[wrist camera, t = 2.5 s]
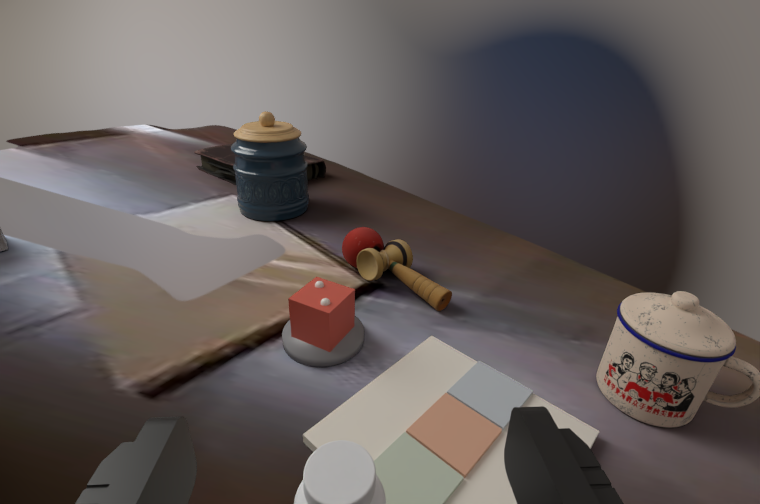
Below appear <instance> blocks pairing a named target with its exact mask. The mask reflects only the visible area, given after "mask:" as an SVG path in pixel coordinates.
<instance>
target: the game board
mask: <svg viewBox="0 0 760 504" xmlns="http://www.w3.org/2000/svg"><path fill="white" fill-rule="evenodd" d="M540 406H544V407H545V408H547V409H548V411H549V412H550V414H551V416H552V418H553V420H554V421H555V423H556V425H557V427H558V429H561V428H570V429H571V430H572V431H573V432H574V433H575V434H576V435H577V436H578V437H579V438H581V439H582V440H583V441H584V442H585V443H586V444H587V445H588V446H589V448H590V449H591V447H592V446H593V444H594V442H595V440H596V438H597V436H598V433H599V431H598V430H596V429H594V428H593V427H591V426H589V425H587V424H586V423H584V422H582V421H580V420H579V419H577V418H575V417H573V416H572V415H570V414H568V413H566V412H565V411H563V410H561V409H559V408H558V407H556V406H554V405H552V404H551V403H549V402H547V401H545V400H544V399H542V398H540V397H538V396H537V395H535V394H533V390H531V389H529V388H527V387H526V386H524V385H522V384H520V383H518V382H517V381H515V380H513V379H511V378H510V377H508V376H506V375H504V374H503V373H501V372H499V371H497V370H496V369H494V368H492V367H490V366H488V365H487V364H485V363H483V362H481V361H480V360H479V361H478V362H477V361H475V360H473V359H472V358H470V357H468V356H466V355H465V354H463V353H461V352H459V351H458V350H456V349H454V348H452V347H451V346H449V345H447V344H445V343H444V342H442V341H440V340H438V339H437V338H435V337H433V336H430V337H429V338H428V339H427V340H425V341H424V342H423V343H421V344H420V345H419V346H417V347H416V348H415V349H414V350H412V351H411V352H410V353H408V354H407V355H406V356H404V357H403V358H402V359H400V360H399V361H398V362H397V363H395V364H394V365H393V366H391V367H390V368H389V369H387V370H386V371H385V372H384V373H382V374H381V375H380V376H378V377H377V378H376V379H374V380H373V381H372V382H371V383H369V384H368V385H367V386H365V387H364V388H363V389H361V390H360V391H359V392H358V393H356V394H355V395H354V396H352V397H351V398H350V399H348V400H347V401H346V402H345V403H343V404H342V405H341V406H339V407H338V408H337V409H335V410H334V411H333V412H332V413H330V414H329V415H328V416H326V417H325V418H324V419H322V420H321V421H320V422H319V423H317V424H316V425H315V426H313V427H312V428H311V429H309V430H308V431H307V432H306V433H304V434H303V443H304V444H306V445H307V446H308V447H309V448H310V449H311V450H312V451H313V452H314V451H315V450H316V449H318V448H319V447H320V446H322V445H324V444H326V443H328V442H332V441H338V440H346V441H351V442H354V443H357V444H359V445H361V446H362V447H363V448H365V449H366V450H367V451H368V452H369V454H370V455H371V457H372V459H373V461H374V464H375V468H376V475H377V476H378V478H379V479H380V481H381V483H382V486H383V488H384V492H385V497H386V504H517V502H516V499H515V496H514V494H513V491H512V488H511V485H510V483H509V480H508V477H507V474H506V469H505V463H504V448H505V443H506V438H507V432H508V427H509V421H510V416H511V411H512V409H513V408H514V407H540Z"/></svg>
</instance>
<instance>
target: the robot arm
mask: <svg viewBox="0 0 760 504" xmlns="http://www.w3.org/2000/svg"><path fill="white" fill-rule="evenodd" d="M504 463H505V469H506V474H507V477H508V480H509V483H510V485H511V488H512V491H513V494H514V496H515V499H516V502H517V504H623V502H622V500H621V499H620V497H619V495H618V494H617V492H616V490H615V489H614V488H612V486H611V482H610V481H609V479H608V477H607V476H606V474H605V472H604V471H603V470H601V466H600V464H599V462H598V461H597V459H596V457H595V456H594V454H593V453H592V451H591V449H590V448H589V446H588V445H587V444H586V443H585V442H584V441H583V440H582V439H581V438H579V437H578V436H577V435H576V434H575V433H574V432H573V431H572V430H571V429H570V428H561V429H558V427H557V425H556V423H555V421H554V420H553V418H552V416H551V414H550V412H549V411H548V409H547V408H545V407H544V406H540V407H514V408H513V409H512V411H511V416H510V421H509V427H508V432H507V438H506V443H505V448H504ZM196 471H197V463H196V457H195V453H194V449H193V444H192V440H191V436H190V432H189V427H188V423H187V420H186V418H185V417H157V418H150V419H148V420H147V421H146V423H145V424H144V426H143V428H142V429H141V431H140V433H139V434H138V436H137V438H136V440H135V441H134V442H123V443H122V444H121V445H120V446H118V447H117V448H116V449H115V450H114V451H113V452H112V453H111V454H110V455H109V456H108V457H106V458H105V459H104V460H103V461H102V462H101V464H100V465H99V467H98V468H97V470H96V471H95V473H94V475H93V476H92V478H91V479H90V481H89V483H88V484H87V488H86V490H83V492H82V494H81V495H80V497H79V498H78V500H77V502H76V503H75V504H188V501H189V498H190V496H191V493H192V490H193V487H194V484H195V479H196Z"/></svg>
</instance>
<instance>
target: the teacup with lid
mask: <svg viewBox="0 0 760 504" xmlns="http://www.w3.org/2000/svg"><path fill="white" fill-rule="evenodd" d="M617 314H618V317H617V320H616V323H615V325H614V328H613V331H612V333H611V336H610V339H609V341H608V344H607V347H606V349H605V352H604V355H603V357H602V360H601V363H600V365H599V368H598V371H597V383H598V386H599V388H600V390H601V391H602V393H603V394H604V396H605V397H606V398H607V399H608V400H609V401H610V402H611V403H612V404H613V405H614V406H615V407H617V408H618V409H619V410H621V411H622V412H624V413H625V414H627V415H629V416H630V417H632V418H634V419H637V420H639V421H641V422H644V423H647V424H650V425H654V426H659V427H679V426H683V425H685V424H687V423H689V422H690V421H691V420H692V419H693V418H694V416H695V414H696V412H697V411H698V409H699V407H700V405H701V403H702V402H703V401H705V402H708V403H711V404H714V405H717V406H721V407H729V408H734V407H741V406H745V405H748V404H750V403H752V402H754V401H755V400H756V399H758V398H759V397H760V372H759V371H758V370H757V369H756V368H755V367H753V366H752V365H751V364H749V363H747V362H745V361H743V360H740V359H738V358H735V357H732V355H733V354H734V352H735V349H736V340H735V336H734V333H733V332H732V330H731V328H730V327H729V326H728V325H727V324H726V323H725V322H724V321H723V320H722V319H720V318H719V317H718V316H717V315H715V314H714V313H712V312H710V311H709V310H707V309H705V308H703V307H701V306H699V300H698V298H697V297H696V296H694V295H693V294H691V293H688V292H683V291H678V292H675V293H673V295H672V296H671V295H666V294H660V293H638V294H634V295H631V296H629V297H627V298H626V299H624V300H623V302H621V303H620V305H619V306H618V309H617ZM722 366H725V367H728V368H731V369H734V370H736V371H739V372H741V373H743V374H745V375H746V376H748V377H749V378H750V379H751V380H752V382H753V384H752V386H751V387H750V388H749V389H748V390H746V391H744V392H742V393H740V394H736V395H721V394H717V393H714V392H711V391H709V389H710V387H711V386H712V384H713V382H714V380H715V378H716V377H717V375H718V373H719V371H720V369H721V368H722Z"/></svg>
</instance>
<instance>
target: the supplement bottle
mask: <svg viewBox="0 0 760 504" xmlns="http://www.w3.org/2000/svg"><path fill="white" fill-rule="evenodd" d="M294 504H386V497H385V492H384V488H383V486H382V483H381V481H380V479H379V478H378V476H377V475H376V468H375V464H374V461H373V459H372V457H371V455H370V454H369V452H368V451H367V450H366V449H365V448H363V447H362V446H361V445H359V444H357V443H354V442H351V441H346V440H338V441H332V442H328V443H326V444H324V445H322V446H320V447H319V448H318V449H316V450H315V451H314V452H313V453H312V454H311V456H310V457H309V459H308V460H307V462H306V465H305V468H304V473H303V481H302V482H301V484H300V486H299V488H298V490H297V493H296V496H295V500H294Z"/></svg>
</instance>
